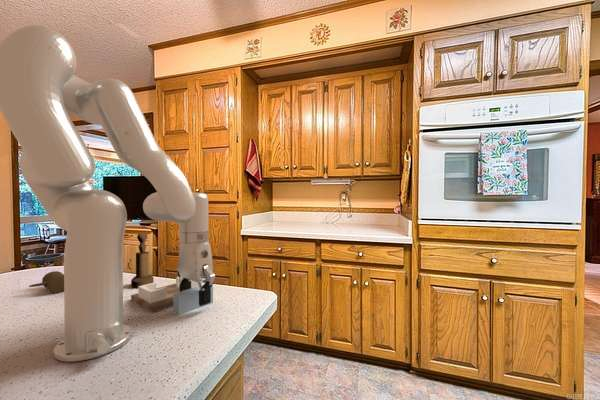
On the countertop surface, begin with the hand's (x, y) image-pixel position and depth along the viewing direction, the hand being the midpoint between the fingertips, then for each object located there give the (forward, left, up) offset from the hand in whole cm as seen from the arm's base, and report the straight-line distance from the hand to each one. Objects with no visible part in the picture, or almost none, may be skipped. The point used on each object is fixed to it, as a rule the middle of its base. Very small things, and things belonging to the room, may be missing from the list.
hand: (194, 299), depth 73 cm
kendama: (+48, +16, -2) cm, 50 cm away
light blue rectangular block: (0, 0, -2) cm, 2 cm away
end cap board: (+12, 0, -2) cm, 12 cm away
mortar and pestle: (+31, +1, -2) cm, 31 cm away
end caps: (+12, 0, 0) cm, 12 cm away
